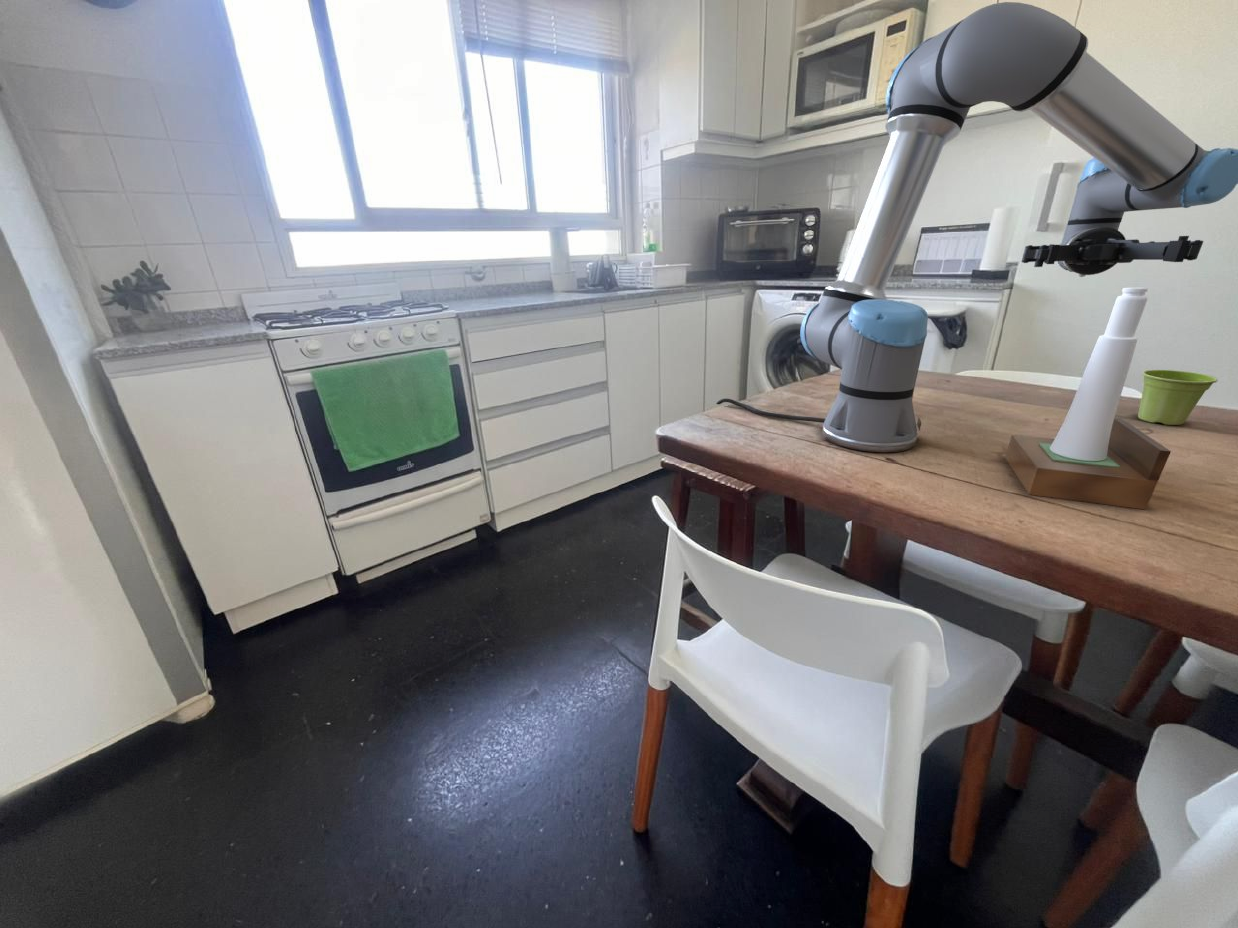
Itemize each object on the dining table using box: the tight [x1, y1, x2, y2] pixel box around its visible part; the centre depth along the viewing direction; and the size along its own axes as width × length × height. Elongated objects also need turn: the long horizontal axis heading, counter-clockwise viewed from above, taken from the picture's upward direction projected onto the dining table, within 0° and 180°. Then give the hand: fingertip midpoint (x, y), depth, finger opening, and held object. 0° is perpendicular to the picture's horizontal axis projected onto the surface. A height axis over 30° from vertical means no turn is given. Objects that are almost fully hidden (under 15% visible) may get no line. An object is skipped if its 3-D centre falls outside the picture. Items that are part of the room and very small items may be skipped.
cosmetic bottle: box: [1050, 286, 1149, 461], centre depth 65 cm, size 6×6×22 cm
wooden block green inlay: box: [1004, 417, 1172, 510], centre depth 69 cm, size 12×14×8 cm
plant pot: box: [1137, 369, 1219, 426], centre depth 91 cm, size 9×9×9 cm
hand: (1114, 253), depth 71 cm, fingers open, 13 cm apart
